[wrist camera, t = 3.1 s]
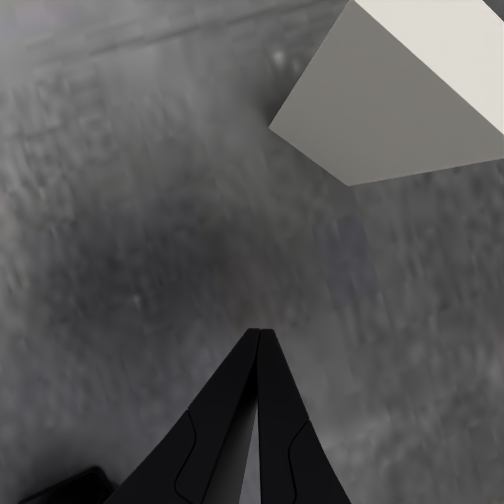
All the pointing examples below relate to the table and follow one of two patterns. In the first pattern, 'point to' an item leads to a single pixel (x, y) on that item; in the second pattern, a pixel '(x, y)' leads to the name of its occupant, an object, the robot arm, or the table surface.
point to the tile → (401, 91)
